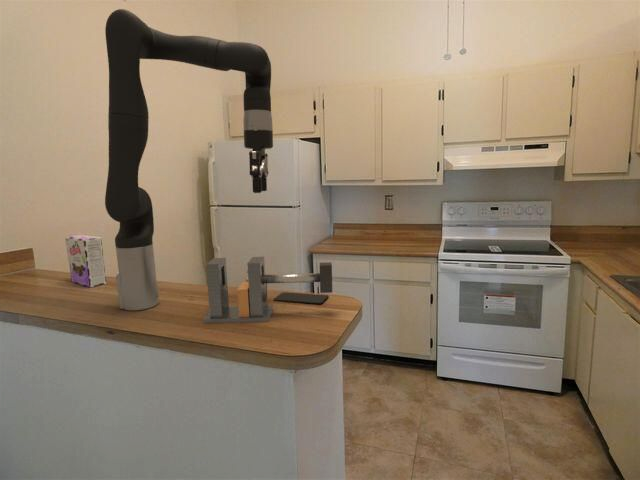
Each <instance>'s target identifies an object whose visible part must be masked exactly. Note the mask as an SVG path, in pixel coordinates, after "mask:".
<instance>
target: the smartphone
mask: <svg viewBox="0 0 640 480" xmlns="http://www.w3.org/2000/svg"><path fill="white" fill-rule="evenodd" d="M327 300H329V295H328V294H316V295H315V294H314V293H300V292H299V293H296V292H295V293H294V292H282V293H280V294H277V296H275V297H274V298H273V302H279V303H287V304H289V303H290V304H291V303H292V304H301V305H312V306H322V305H324V304H325V302H326V301H327Z"/></svg>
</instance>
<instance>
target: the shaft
mask: <svg viewBox="0 0 640 480" xmlns="http://www.w3.org/2000/svg"><path fill="white" fill-rule="evenodd" d="M265 283H267V284H294V283H295V284H298V283H299V284H300V283H301V284H302V283H319V289H320V290H319V293H320V294H325V293H328V294H331V293H333V264H332V262H331V261H330V262H328V261H327V262H319V272H318V273H315V272H313V273H283V274H281V273H279V274H265V275H262V284H265Z"/></svg>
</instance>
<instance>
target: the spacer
mask: <svg viewBox="0 0 640 480" xmlns="http://www.w3.org/2000/svg"><path fill="white" fill-rule="evenodd" d="M236 290H237V306H238V307H239V317H249V316H250V314H251V313H250V297H249V281H247V282H246V281H243V282H242V283H241V284H240V285H239V286H238V288H237V289H236Z"/></svg>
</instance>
